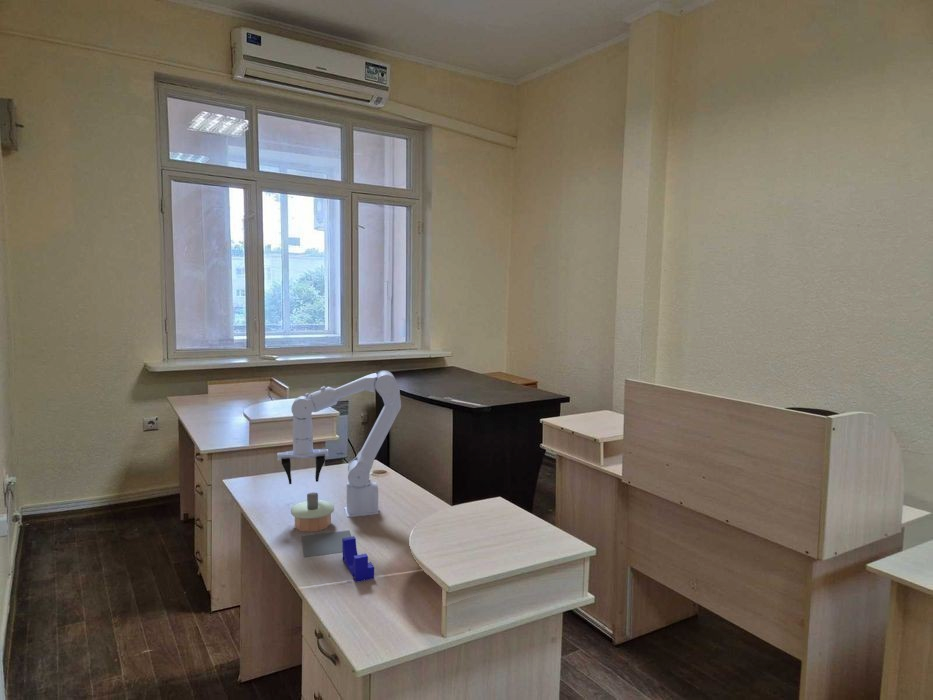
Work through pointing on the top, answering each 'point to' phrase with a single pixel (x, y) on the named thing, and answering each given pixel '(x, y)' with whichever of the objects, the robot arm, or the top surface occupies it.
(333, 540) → the mat
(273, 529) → the top surface
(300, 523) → the bowl
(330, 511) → the lid
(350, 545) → the blue stepped bracket
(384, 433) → the robot arm
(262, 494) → the top surface
